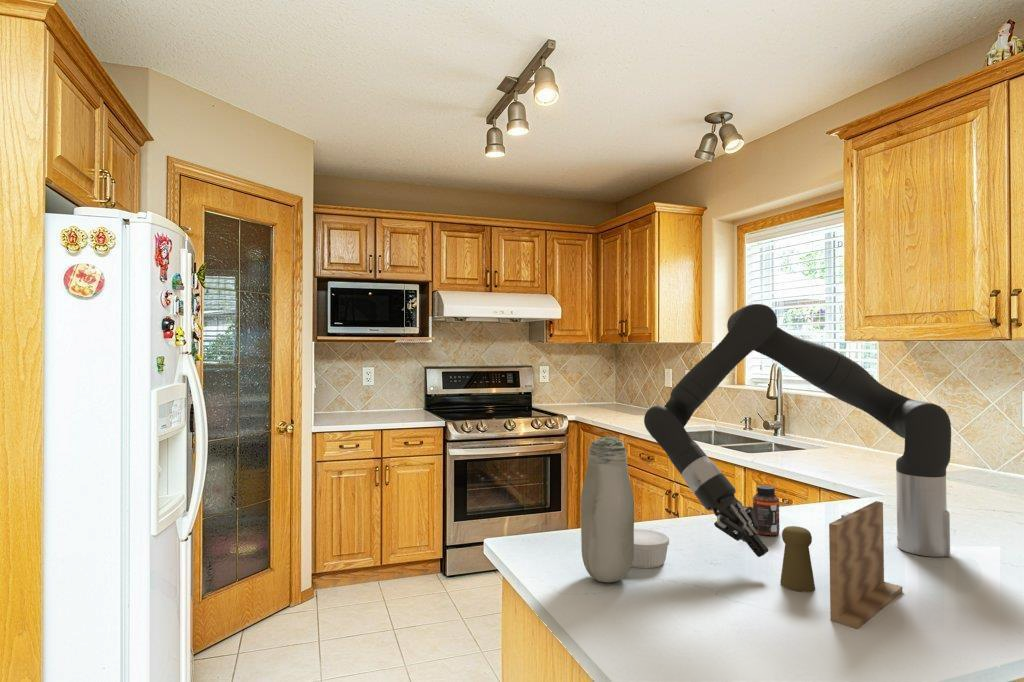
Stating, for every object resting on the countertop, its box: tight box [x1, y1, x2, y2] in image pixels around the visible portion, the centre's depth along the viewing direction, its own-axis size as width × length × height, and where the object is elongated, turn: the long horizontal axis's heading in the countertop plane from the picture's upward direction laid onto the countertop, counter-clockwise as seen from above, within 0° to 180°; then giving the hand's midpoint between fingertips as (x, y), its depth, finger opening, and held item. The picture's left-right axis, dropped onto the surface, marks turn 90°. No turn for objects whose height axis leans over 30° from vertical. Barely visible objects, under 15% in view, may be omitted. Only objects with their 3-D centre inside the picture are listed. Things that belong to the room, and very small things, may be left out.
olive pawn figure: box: [780, 525, 816, 593], centre depth 113 cm, size 6×6×11 cm
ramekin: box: [631, 528, 670, 569], centre depth 127 cm, size 11×11×5 cm
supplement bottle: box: [752, 485, 780, 537], centre depth 145 cm, size 6×6×11 cm
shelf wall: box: [828, 500, 903, 630], centre depth 104 cm, size 22×4×16 cm, turn 131°
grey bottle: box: [580, 436, 635, 584], centre depth 117 cm, size 10×10×28 cm
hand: (763, 554), depth 118 cm, fingers closed
